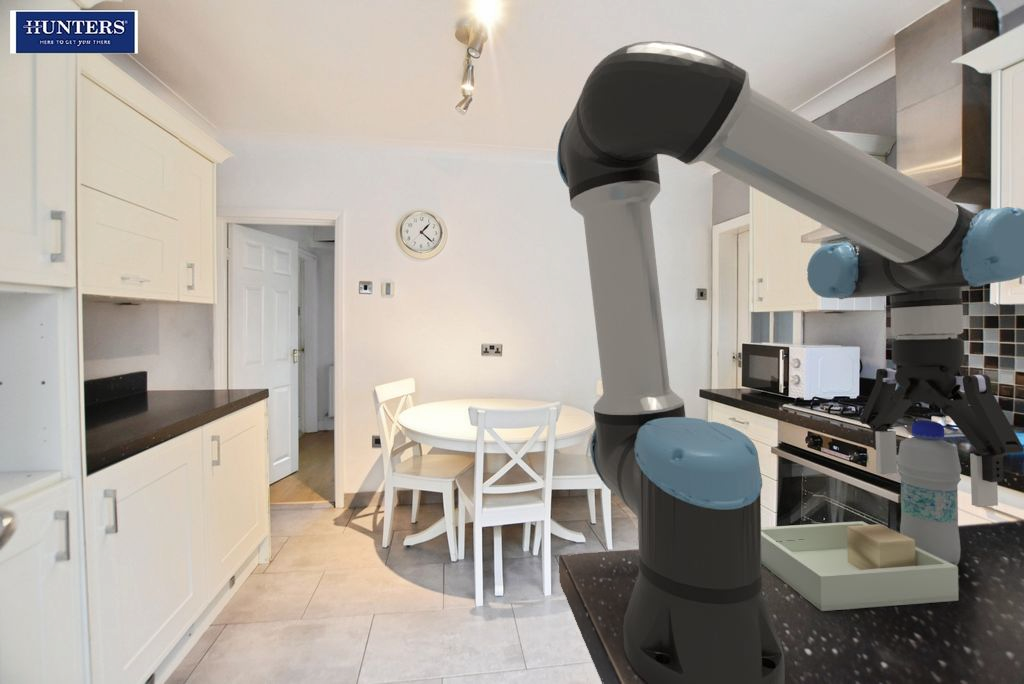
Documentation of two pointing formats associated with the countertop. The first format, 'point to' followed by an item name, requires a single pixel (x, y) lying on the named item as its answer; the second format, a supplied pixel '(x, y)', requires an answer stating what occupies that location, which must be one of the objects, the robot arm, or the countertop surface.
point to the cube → (879, 547)
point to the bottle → (930, 491)
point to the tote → (850, 570)
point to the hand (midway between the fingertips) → (930, 487)
